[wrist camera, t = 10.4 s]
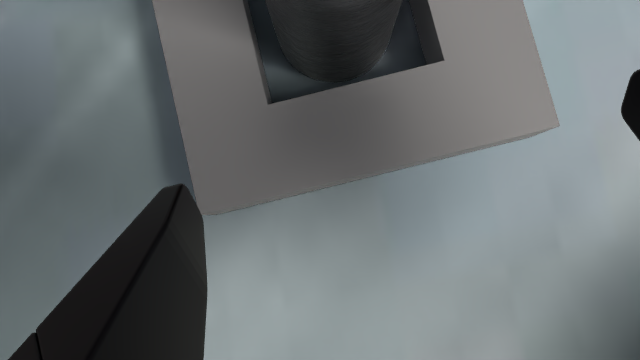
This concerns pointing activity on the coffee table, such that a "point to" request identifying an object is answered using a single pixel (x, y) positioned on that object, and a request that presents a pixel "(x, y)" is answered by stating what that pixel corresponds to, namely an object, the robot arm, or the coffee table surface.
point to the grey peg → (333, 35)
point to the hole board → (346, 101)
